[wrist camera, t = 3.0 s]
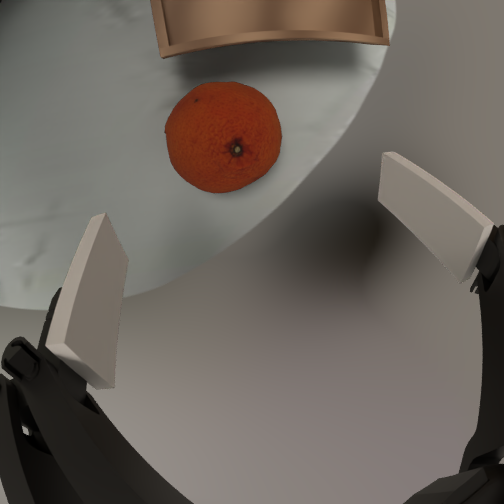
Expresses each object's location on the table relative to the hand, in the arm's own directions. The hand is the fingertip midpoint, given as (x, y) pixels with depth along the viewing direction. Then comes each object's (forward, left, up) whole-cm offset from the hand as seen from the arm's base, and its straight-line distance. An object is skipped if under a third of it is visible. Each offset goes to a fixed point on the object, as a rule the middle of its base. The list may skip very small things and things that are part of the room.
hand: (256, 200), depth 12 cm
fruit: (0, 0, -14) cm, 14 cm away
